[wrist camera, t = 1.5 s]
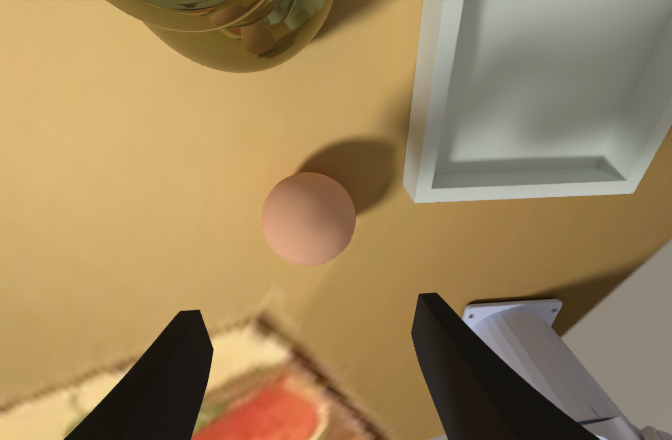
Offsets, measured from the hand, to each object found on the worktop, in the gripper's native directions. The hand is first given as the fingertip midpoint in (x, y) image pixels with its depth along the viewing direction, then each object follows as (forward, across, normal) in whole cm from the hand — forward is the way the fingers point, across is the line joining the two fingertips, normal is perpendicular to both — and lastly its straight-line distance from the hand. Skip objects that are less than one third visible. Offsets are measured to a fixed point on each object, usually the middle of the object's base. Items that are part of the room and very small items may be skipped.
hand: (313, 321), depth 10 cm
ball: (+10, 0, 0) cm, 10 cm away
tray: (+10, -12, -7) cm, 17 cm away
